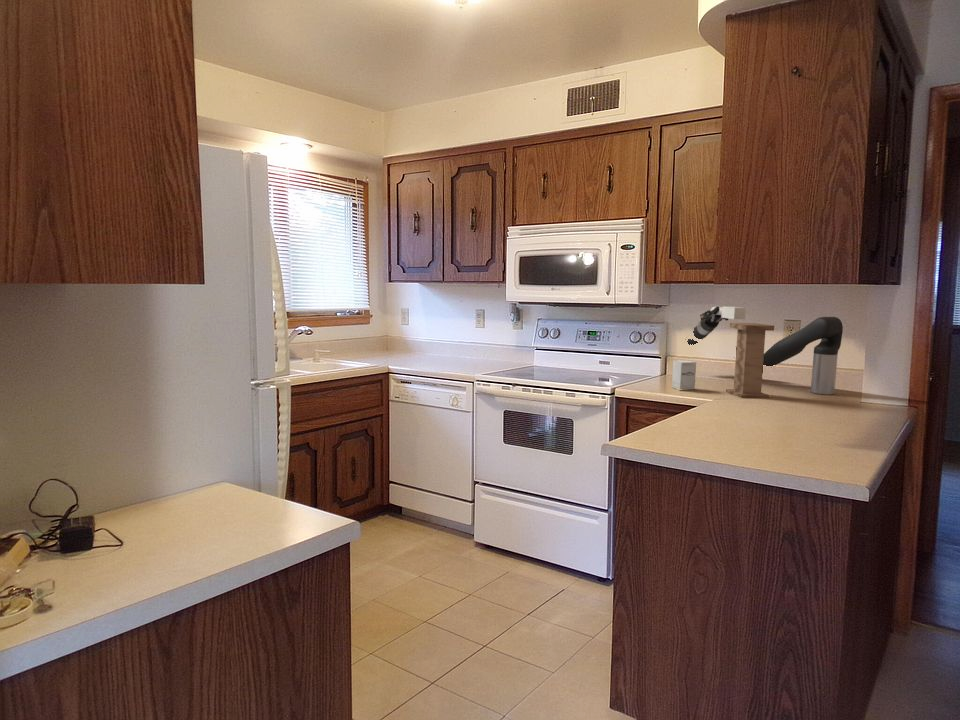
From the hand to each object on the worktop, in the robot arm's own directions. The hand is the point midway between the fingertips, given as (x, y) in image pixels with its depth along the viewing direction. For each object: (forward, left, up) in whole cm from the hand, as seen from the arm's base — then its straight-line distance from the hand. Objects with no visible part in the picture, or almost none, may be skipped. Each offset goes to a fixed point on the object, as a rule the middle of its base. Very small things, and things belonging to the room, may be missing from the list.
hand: (722, 308), depth 298 cm
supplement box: (+26, -1, -36) cm, 44 cm away
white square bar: (+2, +3, -4) cm, 6 cm away
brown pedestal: (+15, +23, -35) cm, 45 cm away
